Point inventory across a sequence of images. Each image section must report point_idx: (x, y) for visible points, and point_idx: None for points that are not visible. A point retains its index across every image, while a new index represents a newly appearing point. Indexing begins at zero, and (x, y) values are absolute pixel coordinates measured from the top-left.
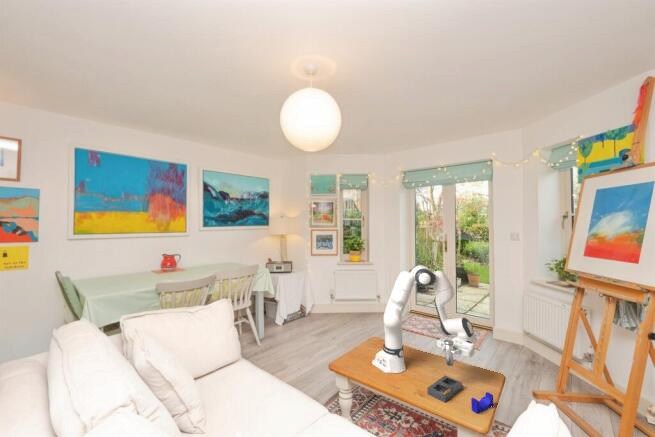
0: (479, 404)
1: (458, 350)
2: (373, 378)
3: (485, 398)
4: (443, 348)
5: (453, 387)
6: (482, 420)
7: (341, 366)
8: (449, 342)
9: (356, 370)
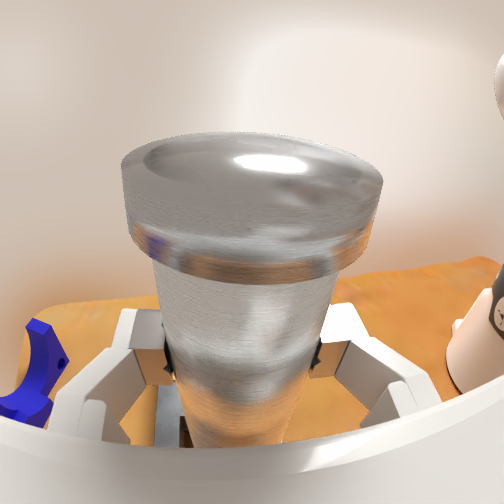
0: (41, 390)
1: (66, 385)
2: (426, 283)
3: (12, 408)
4: (330, 304)
5: (164, 408)
6: None
7: (488, 265)
8: (200, 141)
9: (471, 277)
